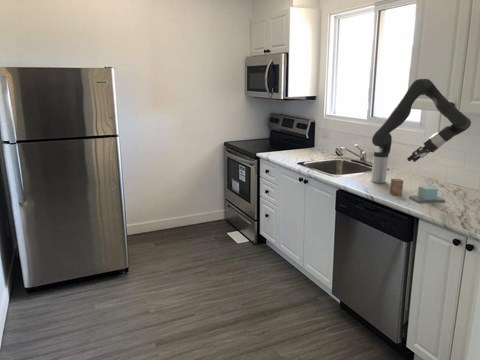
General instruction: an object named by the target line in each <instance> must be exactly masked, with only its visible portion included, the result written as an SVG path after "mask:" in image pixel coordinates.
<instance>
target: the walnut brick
mask: <svg viewBox="0 0 480 360" xmlns="http://www.w3.org/2000/svg"><path fill="white" fill-rule="evenodd" d="M389 186H390V187H389V194H390V195H392V196H393V197H394V196H395V197H396V196H397V197H398V196H400V197H401V196H402V195H403V189H404V180H403V179H401V178H391V179H390V185H389Z"/></svg>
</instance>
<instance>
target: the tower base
mask: <svg viewBox="0 0 480 360" xmlns="http://www.w3.org/2000/svg"><path fill="white" fill-rule="evenodd" d="M438 192H439V189H438V188H436V187H434V186H431V185H419V186H418V192H417V195H409V198H408V199H410V200H412V201H414V202H415V203H418V204H419V203H426V204H427V203H446V199H445V198H442V197H440V196H438Z"/></svg>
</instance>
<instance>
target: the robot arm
mask: <svg viewBox="0 0 480 360" xmlns="http://www.w3.org/2000/svg"><path fill="white" fill-rule="evenodd" d="M420 96H426V97H427V98H429V99H430V100H431V101H432V102H433V103H434V106H435V108H436V110H437V111H438V112H439V113H440V114H441V115H442V116H443V117H445V118H446V119H447V120H448V121H449V122H450V124H451V125H449V126H448V125H447V126H445V127H443V128H441V129H440V130H438V132H436V133H434V134H432V135H431V136H430V137H429V138H427V139H426V140H425V141H424V142H423V145H424V146H419V147H418V148H417V149H415V150H414V151H413V152H412V153H411V155H410V156H408V157H407V158H406V160H407V161H408V162H414V163H416V162H418V160H419V159H423V158H425V157H426V156H427V155H428V154H430V153H434V152H436V151H437V150H439V148H441V147H442V146H444V145H445V144H446V143H447V142H448V141H450V140H451V139H453V138H454V137H455V136H458V135H459V134H461V133H463V132H465V131H466V130H468V129H469V128H470V127H471V125H472V121H471V119H470V118H469V117H468V116H466V115H465V114H463V113H462V112H461V111H460V110H459V109H458V108H457V107H456V106H455V105H454V104H453V103H452V102H451V101H449V100H448V99H447V98H446V97H445V95H443V94H442V93H441V92H440V90H439V89H438V88H437V86H436V85H435V84H434V83H433V82H432V80H431V79H428V78H418V79H414V80H413V82H412V83H411V84H410V85H409V87H408V89H407V91H406V92H405V94H404V95H403V97H402V99H401V100H400V101H399V103H398V104H397V106H396V107H395V108H394V109H393V110H392V112H391V114H390V115H389V116H388V118H387V119H386V120H385V121H384V122H383V124H382V125H381V126H380V127H379V128H378V130H376V132H375V133H374V134H373V136H372V139H371V140H372V141H371V143H372V144H373V145H374V146H375V147H378V148H377V149H375V151H373V157H372V158H373V159H372V167H371V178H370V179H371V182H372V183H377V184H383V183H386V181H387V172H388V164H389V163H388V162H389V155H390V153H391V147H392V143H393V136H392V134H391V132H392V131H394V130H396V129H397V128H398V127H400V126H402V125H403V123H404V122H405V121H407V118H409V117H410V114H411V112H412V111H411V110H412V108H413V107H412V106H413V104H414V102H415V101H416V100H417V99H418V98H419V97H420Z"/></svg>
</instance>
